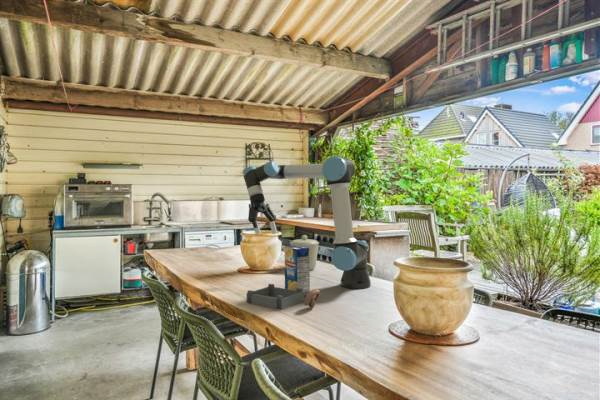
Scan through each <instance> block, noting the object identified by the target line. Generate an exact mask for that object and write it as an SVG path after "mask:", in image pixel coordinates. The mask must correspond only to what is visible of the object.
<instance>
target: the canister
mask: <svg viewBox="0 0 600 400" xmlns="http://www.w3.org/2000/svg"><path fill="white" fill-rule="evenodd" d="M289 244H290V246H302V247H307V248H310V271H312V270H315V268H316V267H317V259H318V249H319V244H320V242H318V240H316V239H311V238H310V239H309V238H308V236H307V234H303V235H302V236H301V238H298V239H294V240H292V241H290V242H289Z"/></svg>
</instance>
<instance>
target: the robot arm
mask: <svg viewBox="0 0 600 400" xmlns="http://www.w3.org/2000/svg"><path fill="white" fill-rule="evenodd" d="M256 167H257V166H254V165H253V166H252V165H251V166H247V167H246V168H244V169H243V170H242V173H243V174H242V175H243V179H244V182H245V186H246V189H247V190H246V191H247V194H248V196H249V200H250V203H249V204H248V219H247V220H248V222H249V223H250V224H252V226H253V230H254V233H255V235H256V236H257V235H259V234H261V232H262V231H261V229H260V226H259V222H258V220H257V218H258V215H259V213H260V214H261V213H262V214H263V215H264V216H265V217H266V219H267V220H268V221H269V226H270V227H269V228H270V230H271V233H272V235H275V234H278V229H277V226H276V222H275V221H276V220H277V217H276V215H275V214H274V212H273V210H272V209H271V207H270V204H269V203H266V204H265V200H266V199H265V195H264V192H263V189H262V182H263V181H266V180H269V179H270V180H271V179H273V180H274V179H275V180H287V179H325V181H326V186H327V187H328V188H329V189H330V197H331V205H332V215H333V225H334V233H335V234H334V236H335V239H334V240H333V242H332V246H333V247H332V248H333V250H332V253H331V255H330V256H331V258H330V259H331V263H332V265H333V266H334V267H335V268H336V269H338V270H340V271H343V272H342V275H341V279H340V286H341V287H342V288H347V289H355V290H357V289H366V288H370V287H371V286H372V284H371V279H370V276H369V273H368V272H369V271H368V242H367V241H366V240H357V238H355V237H354V229H353V219H352V208H351V200H350V192H349V191H350V189H349V187H350V185H352V178H353V177H354V175H355V173H356V167H355V164H354V162H353V161H352V160H351V159H349V158H346V157H341V156H339V155H338V156H337V155H336V156H335V155H334V156H330V157H328V158H327V159H326V160H325V161H324V162H323V163H305V164H303V163H302V164H301V163H300V164H279V165H278V164H277V162H275V160H274V161H273V160H271V161H268V162H266V163H264V164H262V165H260V166H258V167H257V168H256Z"/></svg>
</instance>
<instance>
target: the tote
mask: <svg viewBox="0 0 600 400" xmlns="http://www.w3.org/2000/svg"><path fill="white" fill-rule="evenodd" d="M304 300H305V297H304V292H303V289H301V288H297V289H296V290H290V289H285V287H284V288H283V287H277V286H275V284H274V283H269V284H268V286H266V287H265V286H264V287H262V288H260V289H257V290H247V293H246V304H252V305H257V306H260V307H261V306H262V307H268V308H273V309H279V310H285V309H288V308H289V307H292V306H294V305H296V304H299V303H301V302H304Z"/></svg>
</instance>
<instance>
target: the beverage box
mask: <svg viewBox="0 0 600 400" xmlns="http://www.w3.org/2000/svg"><path fill="white" fill-rule="evenodd" d="M310 271H311V270H310V248H307V247H302V246H291V245H287V246H284V289H290V290H296V289H297V288H301V289H303V292H304V298H305V297H306V295H307V293H308V292H310V291H311V284H310V283H311V281H310V279H311V278H310Z"/></svg>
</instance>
